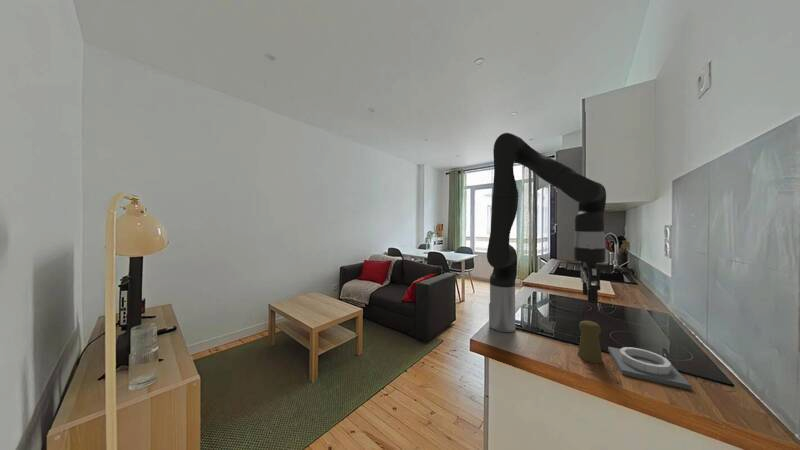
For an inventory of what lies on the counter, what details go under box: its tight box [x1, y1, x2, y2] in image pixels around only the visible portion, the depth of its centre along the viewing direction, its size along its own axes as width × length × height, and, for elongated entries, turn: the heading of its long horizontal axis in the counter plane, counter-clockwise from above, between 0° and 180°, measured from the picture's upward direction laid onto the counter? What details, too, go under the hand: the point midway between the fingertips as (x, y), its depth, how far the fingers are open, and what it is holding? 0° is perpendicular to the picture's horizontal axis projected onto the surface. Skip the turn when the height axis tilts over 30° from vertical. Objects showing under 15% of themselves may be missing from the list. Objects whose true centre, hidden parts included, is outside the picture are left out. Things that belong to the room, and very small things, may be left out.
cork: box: [577, 320, 603, 364], centre depth 74 cm, size 6×6×11 cm
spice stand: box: [607, 346, 692, 391], centre depth 69 cm, size 13×14×3 cm
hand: (589, 298), depth 74 cm, fingers open, 8 cm apart
